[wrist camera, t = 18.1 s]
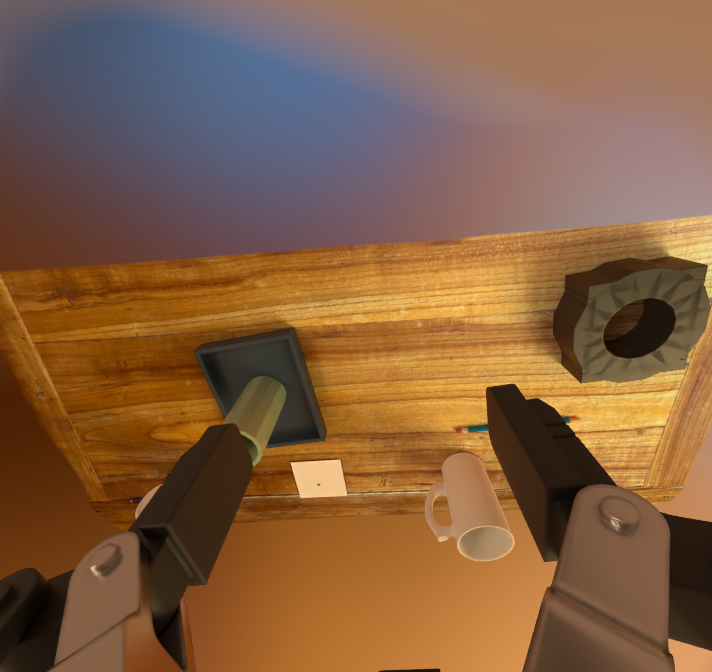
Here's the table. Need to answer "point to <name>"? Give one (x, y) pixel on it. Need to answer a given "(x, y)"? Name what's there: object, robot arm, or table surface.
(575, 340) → the dark brown carved ring
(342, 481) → the coaster
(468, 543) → the mug
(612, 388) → the table surface
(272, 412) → the cup
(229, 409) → the tray
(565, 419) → the pencil
